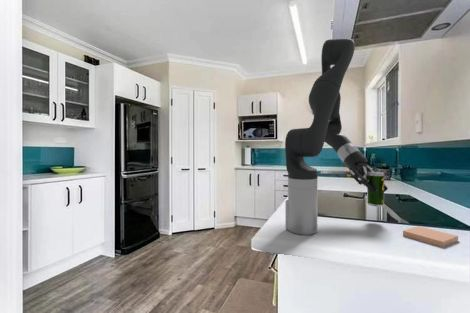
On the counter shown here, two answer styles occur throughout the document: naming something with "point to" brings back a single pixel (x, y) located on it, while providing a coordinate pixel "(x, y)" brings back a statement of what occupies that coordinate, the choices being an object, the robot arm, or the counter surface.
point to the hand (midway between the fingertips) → (380, 191)
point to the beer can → (378, 182)
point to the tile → (430, 236)
